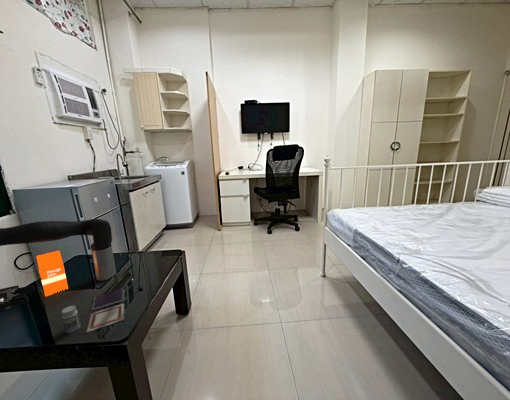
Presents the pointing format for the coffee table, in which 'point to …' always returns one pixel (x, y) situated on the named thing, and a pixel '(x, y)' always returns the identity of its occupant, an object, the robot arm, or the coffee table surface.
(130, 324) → the coffee table surface
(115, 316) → the marked board
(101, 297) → the ink pad
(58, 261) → the orange juice
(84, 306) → the coffee table surface
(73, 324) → the pill bottle
